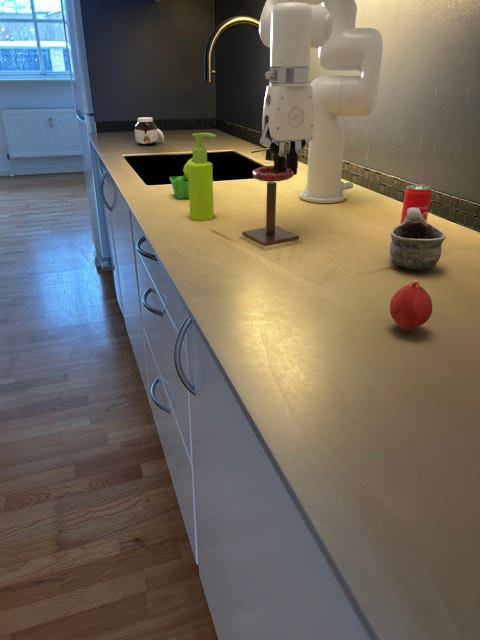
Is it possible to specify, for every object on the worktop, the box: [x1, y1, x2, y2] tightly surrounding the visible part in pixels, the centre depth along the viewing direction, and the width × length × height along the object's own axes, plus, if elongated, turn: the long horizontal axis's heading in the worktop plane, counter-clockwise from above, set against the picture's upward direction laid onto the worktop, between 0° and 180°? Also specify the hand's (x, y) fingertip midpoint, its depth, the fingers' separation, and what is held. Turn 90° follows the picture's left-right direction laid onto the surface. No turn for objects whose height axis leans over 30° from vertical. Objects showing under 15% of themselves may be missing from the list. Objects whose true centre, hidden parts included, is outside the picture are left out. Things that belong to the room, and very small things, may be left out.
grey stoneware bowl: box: [389, 208, 447, 271], centre depth 97 cm, size 10×12×10 cm
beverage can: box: [399, 184, 432, 225], centre depth 108 cm, size 5×5×12 cm
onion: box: [389, 279, 433, 332], centre depth 73 cm, size 6×6×8 cm
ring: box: [252, 165, 295, 182], centre depth 106 cm, size 8×8×2 cm
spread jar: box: [134, 116, 165, 147], centre depth 236 cm, size 12×11×12 cm
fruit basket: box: [169, 157, 193, 200], centre depth 145 cm, size 11×9×11 cm
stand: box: [241, 181, 300, 247], centre depth 109 cm, size 9×9×12 cm
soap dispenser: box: [188, 132, 217, 221], centre depth 124 cm, size 6×7×20 cm
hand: (285, 173), depth 107 cm, fingers closed
